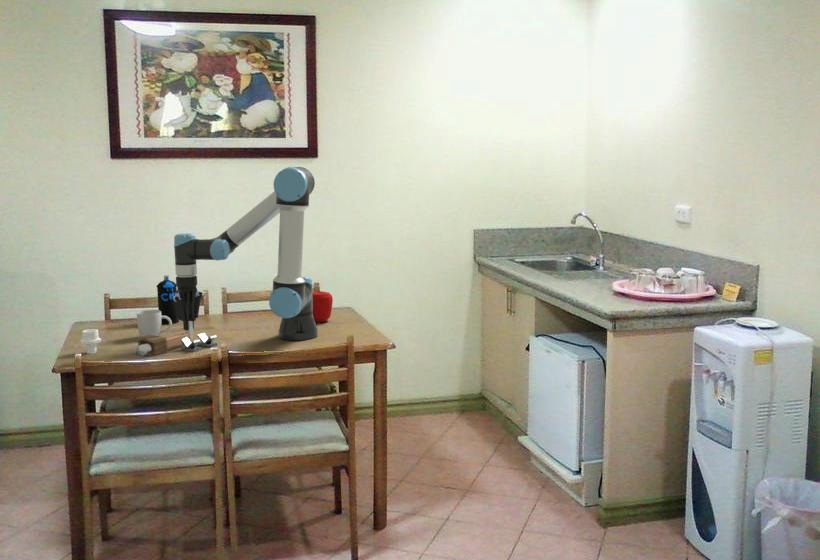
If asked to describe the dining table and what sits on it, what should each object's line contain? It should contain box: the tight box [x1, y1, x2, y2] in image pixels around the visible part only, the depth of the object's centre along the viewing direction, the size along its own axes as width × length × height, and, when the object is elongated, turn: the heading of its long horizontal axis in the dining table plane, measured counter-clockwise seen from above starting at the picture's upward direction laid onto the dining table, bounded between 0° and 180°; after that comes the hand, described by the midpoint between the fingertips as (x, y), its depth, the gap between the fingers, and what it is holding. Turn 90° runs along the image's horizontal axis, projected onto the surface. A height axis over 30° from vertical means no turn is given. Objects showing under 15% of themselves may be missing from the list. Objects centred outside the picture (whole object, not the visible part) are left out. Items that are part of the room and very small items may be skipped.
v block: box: [179, 332, 218, 353], centre depth 283 cm, size 7×11×4 cm, turn 148°
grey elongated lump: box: [136, 342, 153, 357], centre depth 276 cm, size 10×4×4 cm, turn 148°
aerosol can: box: [156, 274, 180, 326], centre depth 325 cm, size 8×8×20 cm
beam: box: [135, 335, 184, 357], centre depth 281 cm, size 9×21×5 cm, turn 148°
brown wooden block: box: [165, 332, 190, 348], centre depth 285 cm, size 3×10×4 cm, turn 150°
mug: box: [136, 309, 173, 337], centre depth 299 cm, size 13×9×10 cm
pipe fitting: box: [79, 328, 102, 355], centre depth 276 cm, size 6×7×8 cm
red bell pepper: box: [312, 289, 334, 324], centre depth 327 cm, size 11×10×14 cm
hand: (189, 338), depth 291 cm, fingers closed
